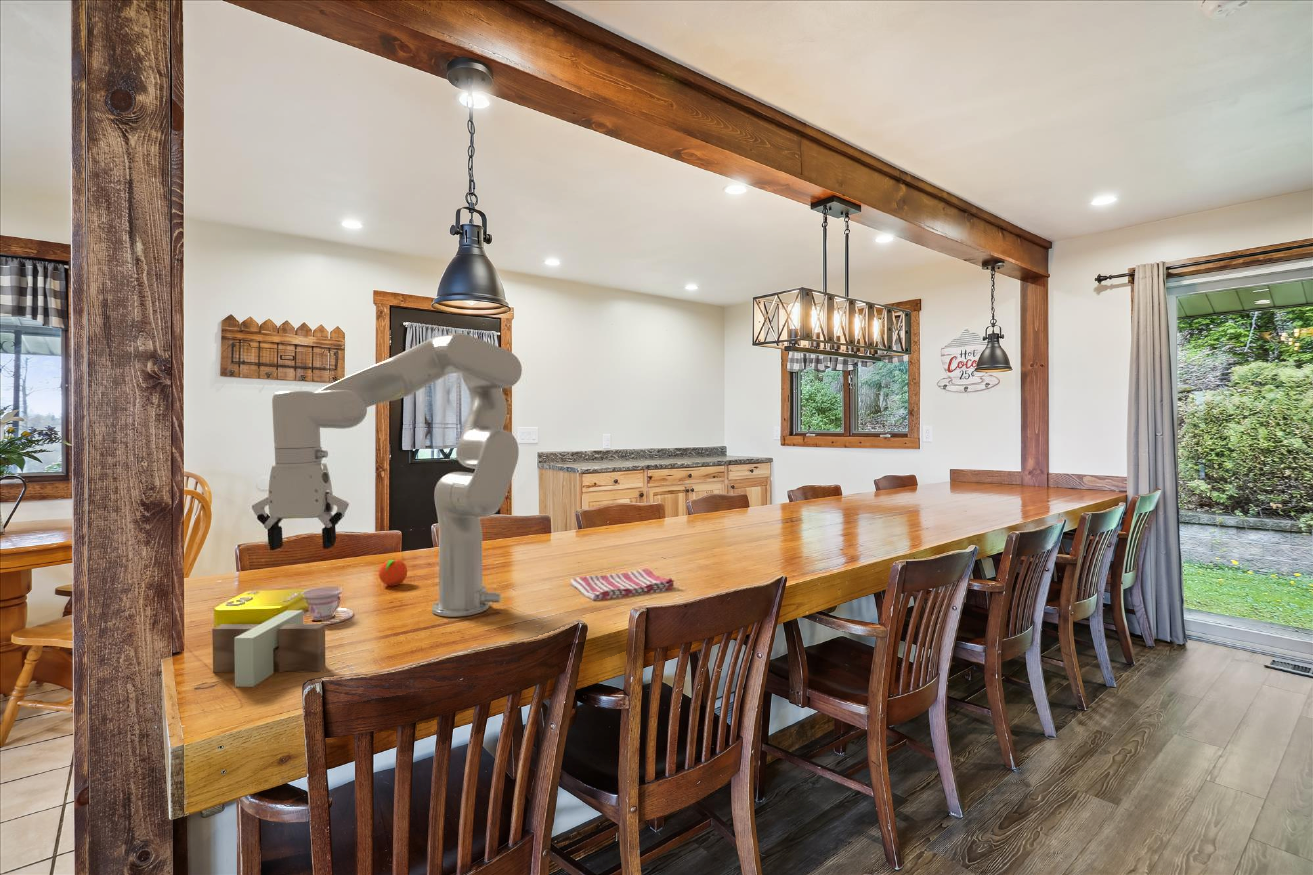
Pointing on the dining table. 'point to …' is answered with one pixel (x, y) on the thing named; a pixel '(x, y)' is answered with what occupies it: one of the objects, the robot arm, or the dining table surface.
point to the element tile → (258, 606)
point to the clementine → (393, 572)
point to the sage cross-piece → (260, 649)
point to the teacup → (325, 604)
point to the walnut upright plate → (294, 652)
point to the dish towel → (621, 584)
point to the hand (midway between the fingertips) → (302, 548)
